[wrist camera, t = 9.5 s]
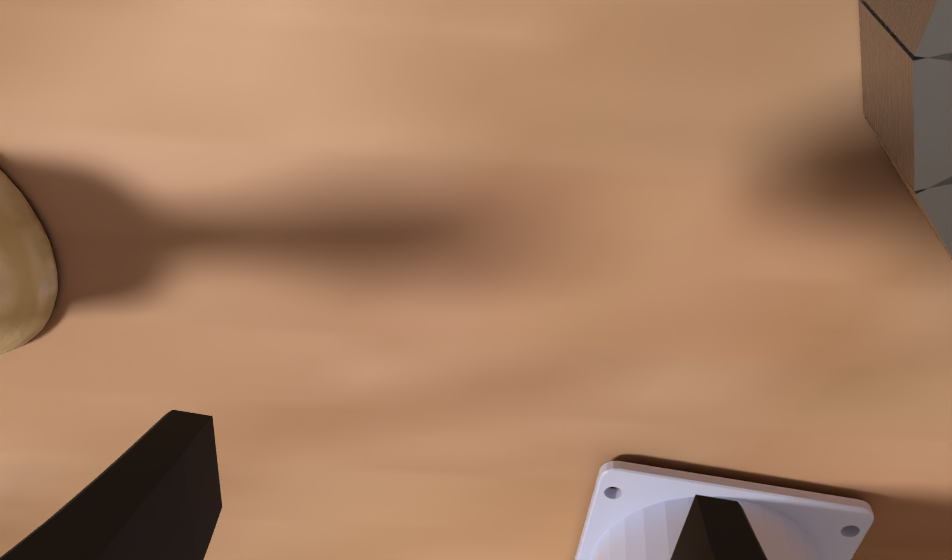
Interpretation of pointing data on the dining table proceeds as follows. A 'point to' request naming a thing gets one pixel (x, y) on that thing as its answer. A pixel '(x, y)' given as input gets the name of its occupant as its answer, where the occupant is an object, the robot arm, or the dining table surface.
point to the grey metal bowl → (912, 97)
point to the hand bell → (23, 270)
